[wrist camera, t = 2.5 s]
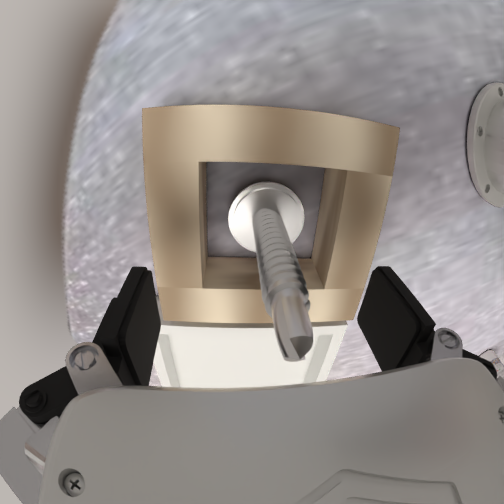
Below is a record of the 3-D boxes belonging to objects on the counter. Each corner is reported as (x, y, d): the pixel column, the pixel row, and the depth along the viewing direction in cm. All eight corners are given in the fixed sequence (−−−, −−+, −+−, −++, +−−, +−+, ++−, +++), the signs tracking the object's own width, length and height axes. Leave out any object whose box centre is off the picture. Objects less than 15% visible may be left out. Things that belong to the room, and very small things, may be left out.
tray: (335, 298, 24) (347, 324, 21) (301, 401, 33) (305, 423, 30) (152, 295, 23) (142, 323, 20) (179, 401, 31) (176, 424, 28)
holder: (370, 121, 16) (399, 127, 13) (338, 289, 23) (353, 320, 20) (161, 107, 16) (142, 108, 12) (173, 287, 22) (163, 320, 19)
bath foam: (475, 373, 37) (513, 446, 20) (460, 375, 36) (500, 457, 19) (497, 348, 34) (540, 422, 17) (483, 348, 33) (531, 432, 15)
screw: (251, 250, 21) (215, 197, 19) (309, 219, 20) (277, 161, 18) (268, 410, 10) (188, 345, 8) (384, 362, 9) (349, 268, 7)
